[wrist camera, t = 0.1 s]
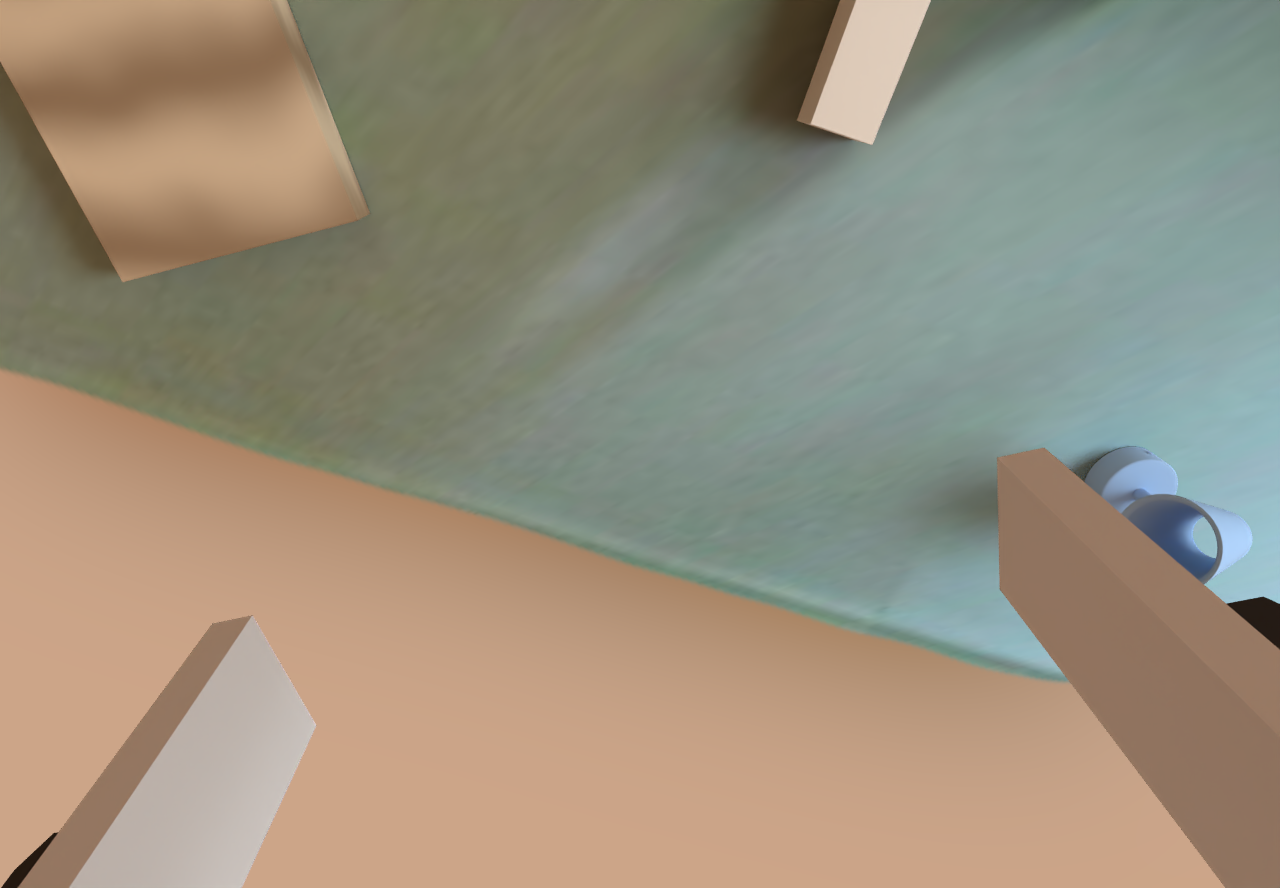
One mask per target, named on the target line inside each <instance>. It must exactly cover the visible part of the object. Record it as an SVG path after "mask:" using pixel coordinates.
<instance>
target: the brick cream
mask: <svg viewBox="0 0 1280 888" xmlns="http://www.w3.org/2000/svg"><path fill="white" fill-rule="evenodd" d="M930 1H931V0H840V2H839V5H838V8H837V10H836V13H835V16H834V19H833V22H832V24H831V27H830V30H829V33H828V35H827V38H826V41H825V44H824V46H823V49H822V52H821V55H820V58H819V60H818V63H817V66H816V69H815V71H814V74H813V77H812V80H811V83H810V85H809V88H808V91H807V94H806V96H805V99H804V102H803V105H802V108H801V110H800V113H799V116H798V119H797V121H799V122H802V123H805V124H808V125H811V126H814V127H817V128H820V129H823V130H826V131H829V132H832V133H835V134H838V135H840V136H843V137H846V138H849V139H852V140H856V141H859V142H863V143H867V144H871V145H872V144H873V142H874V139H875V137H876V134H877V132H878V129H879V127H880V124H881V122H882V119H883V117H884V114H885V112H886V109H887V107H888V105H889V102H890V100H891V97H892V95H893V92H894V90H895V87H896V85H897V82H898V80H899V77H900V75H901V72H902V70H903V68H904V65H905V63H906V60H907V58H908V55H909V53H910V50H911V48H912V45H913V43H914V40H915V38H916V35H917V33H918V31H919V28H920V26H921V23H922V21H923V18H924V16H925V13H926V11H927V8H928V6H929V3H930Z"/></svg>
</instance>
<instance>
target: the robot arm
mask: <svg viewBox="0 0 1280 888" xmlns="http://www.w3.org/2000/svg"><path fill="white" fill-rule="evenodd" d="M997 472H998V523H999V574H1000V590H1001V591H1002V593H1003V594H1004V595H1005V597H1006V598H1007V599H1008V601H1009V602H1010V603H1011V605H1012V606H1013V607H1014V609H1015V610H1016V611H1017V613H1018V614H1019V615H1020V617H1021V618H1022V619H1023V621H1024V622H1025V623H1026V625H1027V626H1028V627H1029V629H1030V630H1031V631H1032V633H1033V634H1034V635H1035V636H1036V638H1037V639H1038V640H1039V642H1040V643H1041V644H1042V646H1043V647H1044V648H1045V650H1046V651H1047V652H1048V654H1049V655H1050V656H1051V658H1052V659H1053V660H1054V662H1055V663H1056V664H1057V666H1058V667H1059V668H1060V670H1061V671H1062V672H1063V674H1064V675H1065V676H1066V677H1067V679H1068V680H1069V681H1070V683H1071V684H1072V685H1073V687H1074V688H1075V689H1076V691H1077V692H1078V693H1079V695H1080V696H1081V697H1082V699H1083V700H1084V701H1085V703H1086V704H1087V705H1088V707H1089V708H1090V709H1091V710H1092V712H1093V713H1094V714H1095V716H1096V717H1097V718H1098V720H1099V721H1100V722H1101V724H1102V725H1103V726H1104V728H1105V729H1106V730H1107V732H1108V733H1109V734H1110V736H1111V737H1112V738H1113V740H1114V741H1115V742H1116V744H1117V745H1118V746H1119V748H1120V749H1121V750H1122V752H1123V753H1124V754H1125V756H1126V757H1127V758H1128V759H1129V761H1130V762H1131V763H1132V765H1133V766H1134V767H1135V769H1136V770H1137V771H1138V773H1139V774H1140V775H1141V776H1142V778H1143V779H1144V781H1145V782H1146V783H1147V785H1148V786H1149V787H1150V788H1151V790H1152V791H1153V793H1154V794H1155V795H1156V797H1157V798H1158V799H1159V800H1160V802H1161V803H1162V804H1163V806H1164V807H1165V808H1166V810H1167V811H1168V812H1169V814H1170V815H1171V816H1172V818H1173V819H1174V820H1175V822H1176V823H1177V824H1178V826H1179V827H1180V828H1181V830H1182V831H1183V832H1184V834H1185V835H1186V836H1187V838H1188V839H1189V840H1190V842H1191V843H1192V844H1193V845H1194V847H1195V848H1196V849H1197V850H1198V852H1199V853H1200V855H1201V856H1202V857H1203V858H1204V860H1205V861H1206V862H1207V864H1208V865H1209V867H1210V868H1211V869H1212V871H1213V872H1214V873H1215V874H1216V876H1217V877H1218V878H1219V880H1220V881H1221V883H1222V884H1223V885H1224V886H1225V888H1280V604H1278V603H1276V602H1274V601H1272V600H1270V599H1267V598H1265V597H1259V598H1254V599H1248V600H1243V601H1238V602H1233V603H1228V604H1226V603H1225V602H1223V601H1222V600H1221V599H1220V598H1219V597H1218V596H1216V595H1215V594H1214V593H1213V592H1212V591H1211V590H1209V589H1208V588H1207V587H1206V586H1205V585H1204V584H1202V583H1201V582H1200V581H1199V580H1198V579H1197V578H1195V577H1194V576H1193V575H1192V574H1191V573H1190V572H1188V571H1187V570H1186V569H1185V568H1184V567H1183V566H1181V565H1180V564H1179V563H1178V562H1177V561H1176V560H1174V559H1173V558H1172V557H1171V556H1170V555H1169V554H1168V553H1166V552H1165V551H1164V550H1163V549H1162V548H1161V547H1159V546H1158V545H1157V544H1156V543H1155V542H1154V541H1152V540H1151V539H1150V538H1149V537H1148V536H1147V535H1145V534H1144V533H1143V532H1142V531H1141V530H1140V529H1138V528H1137V527H1136V526H1135V525H1134V524H1133V523H1131V522H1130V521H1129V520H1128V519H1127V518H1126V517H1124V516H1123V515H1122V514H1121V513H1120V512H1119V511H1117V510H1116V509H1115V508H1114V507H1113V506H1112V505H1110V504H1109V503H1108V502H1107V501H1106V500H1105V499H1103V498H1102V497H1101V496H1100V495H1099V494H1098V493H1096V492H1095V491H1094V490H1093V489H1092V488H1091V487H1089V486H1088V485H1087V484H1086V483H1085V482H1084V481H1082V480H1081V479H1080V478H1079V477H1078V476H1077V475H1075V474H1074V473H1073V472H1072V471H1071V470H1070V469H1068V468H1067V467H1066V466H1065V465H1064V464H1063V463H1061V462H1060V461H1059V460H1058V459H1057V458H1056V457H1054V456H1053V455H1052V454H1051V453H1050V452H1049V451H1047V450H1046V449H1045V448H1040V449H1036V450H1031V451H1026V452H1022V453H1017V454H1012V455H1007V456H1003V457H998V458H997ZM315 727H316V724H315V722H314V720H313V719H312V717H311V715H310V714H309V712H308V710H307V708H306V707H305V705H304V703H303V701H302V700H301V698H300V696H299V695H298V693H297V691H296V689H295V688H294V686H293V684H292V682H291V681H290V679H289V677H288V676H287V674H286V672H285V670H284V669H283V667H282V665H281V663H280V662H279V660H278V659H277V657H276V655H275V653H274V651H273V650H272V648H271V646H270V644H269V643H268V641H267V639H266V638H265V636H264V634H263V632H262V631H261V629H260V627H259V625H258V624H257V622H256V620H255V619H254V617H253V615H251V616H247V617H242V618H238V619H232V620H228V621H223V622H219V623H214V624H212V625H211V626H210V628H209V629H208V630H207V632H206V633H205V634H204V636H203V637H202V638H201V640H200V641H199V643H198V644H197V645H196V647H195V648H194V649H193V651H192V652H191V653H190V655H189V656H188V657H187V659H186V660H185V662H184V663H183V664H182V666H181V667H180V668H179V670H178V671H177V672H176V674H175V675H174V677H173V678H172V679H171V681H170V682H169V684H168V685H167V686H166V688H165V689H164V690H163V692H162V693H161V694H160V695H159V697H158V698H157V700H156V701H155V702H154V704H153V705H152V706H151V708H150V709H149V711H148V712H147V713H146V714H145V716H144V717H143V719H142V720H141V721H140V723H139V724H138V725H137V727H136V728H135V729H134V731H133V732H132V734H131V735H130V736H129V738H128V739H127V740H126V742H125V743H124V744H123V746H122V747H121V748H120V750H119V751H118V753H117V754H116V755H115V757H114V758H113V759H112V761H111V762H110V763H109V765H108V766H107V767H106V769H105V770H104V772H103V773H102V774H101V776H100V777H99V778H98V780H97V781H96V782H95V784H94V785H93V787H92V788H91V789H90V790H89V792H88V793H87V795H86V796H85V797H84V799H83V800H82V801H81V803H80V804H79V805H78V807H77V808H76V810H75V811H74V812H73V814H72V815H71V816H70V818H69V819H68V820H67V822H66V823H65V824H64V826H63V827H62V828H61V830H60V831H59V832H58V833H53V834H52V835H51V836H50V837H49V838H48V839H47V840H46V841H45V842H44V843H43V844H42V845H41V846H40V847H39V848H37V849H36V850H35V851H34V852H33V853H32V854H31V855H30V856H29V857H28V858H27V859H26V860H25V861H24V862H23V863H22V864H21V865H19V866H18V867H17V868H16V869H15V870H14V872H13V873H12V874H11V875H10V877H9V878H8V879H7V881H6V882H5V883H4V885H3V886H2V887H1V888H242V886H243V884H244V881H245V879H246V877H247V875H248V873H249V871H250V869H251V866H252V864H253V862H254V860H255V858H256V855H257V853H258V851H259V849H260V847H261V845H262V843H263V840H264V838H265V836H266V834H267V831H268V829H269V827H270V825H271V823H272V821H273V819H274V816H275V814H276V812H277V810H278V808H279V806H280V803H281V801H282V799H283V797H284V795H285V793H286V790H287V788H288V786H289V784H290V782H291V779H292V777H293V775H294V773H295V771H296V769H297V766H298V764H299V762H300V760H301V758H302V755H303V753H304V751H305V749H306V747H307V745H308V742H309V740H310V738H311V736H312V734H313V732H314V729H315Z"/></svg>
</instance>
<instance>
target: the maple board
mask: <svg viewBox="0 0 1280 888" xmlns="http://www.w3.org/2000/svg"><path fill="white" fill-rule="evenodd" d="M0 62H1V64H2V66H3V67H4V69H5V71H6V73H7V75H8V76H9V78H10V80H11V82H12V84H13V85H14V87H15V89H16V91H17V93H18V94H19V96H20V98H21V100H22V102H23V103H24V105H25V107H26V109H27V111H28V112H29V114H30V116H31V118H32V120H33V121H34V123H35V125H36V127H37V129H38V130H39V132H40V134H41V136H42V138H43V140H44V141H45V143H46V145H47V147H48V149H49V150H50V152H51V154H52V156H53V158H54V159H55V161H56V163H57V165H58V167H59V168H60V170H61V172H62V174H63V176H64V177H65V179H66V181H67V183H68V185H69V186H70V188H71V190H72V192H73V194H74V195H75V197H76V199H77V201H78V203H79V204H80V206H81V208H82V210H83V212H84V213H85V215H86V217H87V219H88V221H89V222H90V224H91V226H92V228H93V230H94V232H95V233H96V235H97V237H98V239H99V241H100V242H101V244H102V246H103V248H104V250H105V251H106V253H107V255H108V257H109V259H110V260H111V262H112V264H113V266H114V268H115V269H116V271H117V273H118V275H119V277H120V278H121V280H122V282H125V281H129V280H132V279H136V278H140V277H144V276H148V275H152V274H155V273H159V272H163V271H167V270H171V269H174V268H178V267H182V266H186V265H190V264H193V263H197V262H201V261H205V260H209V259H213V258H216V257H220V256H224V255H228V254H232V253H235V252H239V251H243V250H247V249H251V248H255V247H258V246H262V245H266V244H270V243H274V242H277V241H281V240H285V239H289V238H293V237H296V236H300V235H304V234H308V233H312V232H316V231H319V230H323V229H327V228H331V227H335V226H338V225H342V224H346V223H350V222H354V221H358V220H359V219H361V218H363V217H365V216H367V215H368V214H370V212H369V209H368V207H367V204H366V201H365V199H364V196H363V194H362V191H361V189H360V186H359V184H358V181H357V178H356V176H355V173H354V171H353V168H352V166H351V163H350V160H349V158H348V155H347V153H346V150H345V148H344V145H343V142H342V140H341V137H340V135H339V132H338V130H337V127H336V124H335V122H334V119H333V117H332V114H331V112H330V109H329V107H328V104H327V101H326V99H325V96H324V94H323V91H322V89H321V86H320V83H319V81H318V78H317V76H316V73H315V71H314V68H313V65H312V63H311V60H310V58H309V55H308V53H307V50H306V47H305V45H304V42H303V40H302V37H301V35H300V32H299V30H298V27H297V24H296V22H295V19H294V17H293V14H292V12H291V9H290V6H289V4H288V1H287V0H0Z"/></svg>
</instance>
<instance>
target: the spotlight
mask: <svg viewBox="0 0 1280 888" xmlns="http://www.w3.org/2000/svg"><path fill="white" fill-rule="evenodd" d="M1085 483H1086V484H1087V485H1088V486H1089V487H1091V488H1092V489H1093V490H1094V491H1095V492H1096V493H1098V494H1099V495H1100V496H1101V497H1102V498H1103V499H1105V500H1106V501H1107V502H1108V503H1109V504H1110V505H1112V506H1113V507H1114V508H1115V509H1116V510H1117V511H1119V512H1120V513H1121V514H1122V515H1123V516H1124V517H1126V518H1127V519H1128V520H1129V521H1130V522H1131V523H1133V524H1134V525H1135V526H1136V527H1137V528H1138V529H1140V530H1141V531H1142V532H1143V533H1144V534H1145V535H1147V536H1148V537H1149V538H1150V539H1151V540H1152V541H1154V542H1155V543H1156V544H1157V545H1158V546H1159V547H1161V548H1162V549H1163V550H1164V551H1165V552H1166V553H1168V554H1169V555H1170V556H1171V557H1172V558H1173V559H1174V560H1176V561H1177V562H1178V563H1179V564H1180V565H1181V566H1183V567H1184V568H1185V569H1186V570H1187V571H1188V572H1190V573H1191V574H1192V575H1193V576H1194V577H1195V578H1197V579H1198V580H1199V581H1200V582H1201V583H1202V584H1205V583H1207V582H1208V581H1210V580H1211V579H1212V578H1214V577H1215V576H1217V575H1218V574H1220V573H1221V572H1222V571H1224V570H1225V569H1227V568H1228V567H1230V566H1231V565H1233V564H1234V563H1235V562H1237V561H1238V560H1240V559H1241V558H1242V557H1244V556H1245V555H1246V554H1247V553H1248V551H1249V550H1250V548H1251V545H1252V533H1251V530H1250V528H1249V526H1248V524H1247V523H1246V522H1245V521H1244V520H1243V519H1242V518H1241V517H1240V516H1238V515H1237V514H1235V513H1233V512H1230V511H1227V510H1224V509H1220V508H1217V507H1214V506H1210V505H1207V504H1203V503H1200V502H1197V501H1193V500H1190V499H1187V498H1183V497H1180V496H1176V495H1175V494H1176V491H1177V487H1178V479H1177V475H1176V473H1175V471H1174V469H1173V468H1172V467H1171V466H1170V465H1169V464H1167V463H1166V462H1165V461H1163V460H1162V459H1160V458H1159V457H1157V456H1156V455H1155V454H1153V453H1152V452H1150V451H1149V450H1147V449H1144V448H1141V447H1124V448H1120V449H1117V450H1114V451H1112V452H1110V453H1108V454H1106V455H1105V456H1103V457H1102V458H1101V459H1099V460H1098V461H1097V462H1096V463H1095V464H1094V465H1093V467H1092V468H1091V469H1090V471H1089V472H1088V474H1087V476H1086V479H1085ZM1202 517H1205V518H1206V519H1207V521H1208V522H1209V523H1210V525H1211V527H1212V528H1213V530H1214V533H1215V535H1216V539H1217V547H1218V548H1217V557H1216V559H1215V558H1212V557H1209V556H1207V555H1205V554H1204V553H1203V552H1201V551H1200V550H1199V549H1198V547H1197V546H1196V544H1195V542H1194V539H1193V529H1194V526H1195V524H1196V522H1197V521H1198V520H1199V519H1200V518H1202Z"/></svg>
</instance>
